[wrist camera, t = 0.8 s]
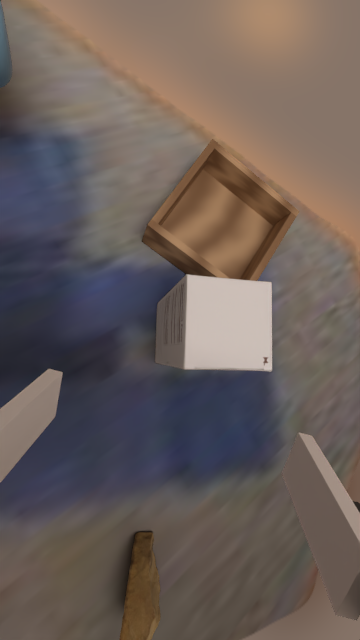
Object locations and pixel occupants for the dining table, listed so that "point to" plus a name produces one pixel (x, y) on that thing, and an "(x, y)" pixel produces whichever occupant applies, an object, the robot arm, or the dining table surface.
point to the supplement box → (215, 325)
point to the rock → (141, 592)
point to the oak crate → (220, 220)
